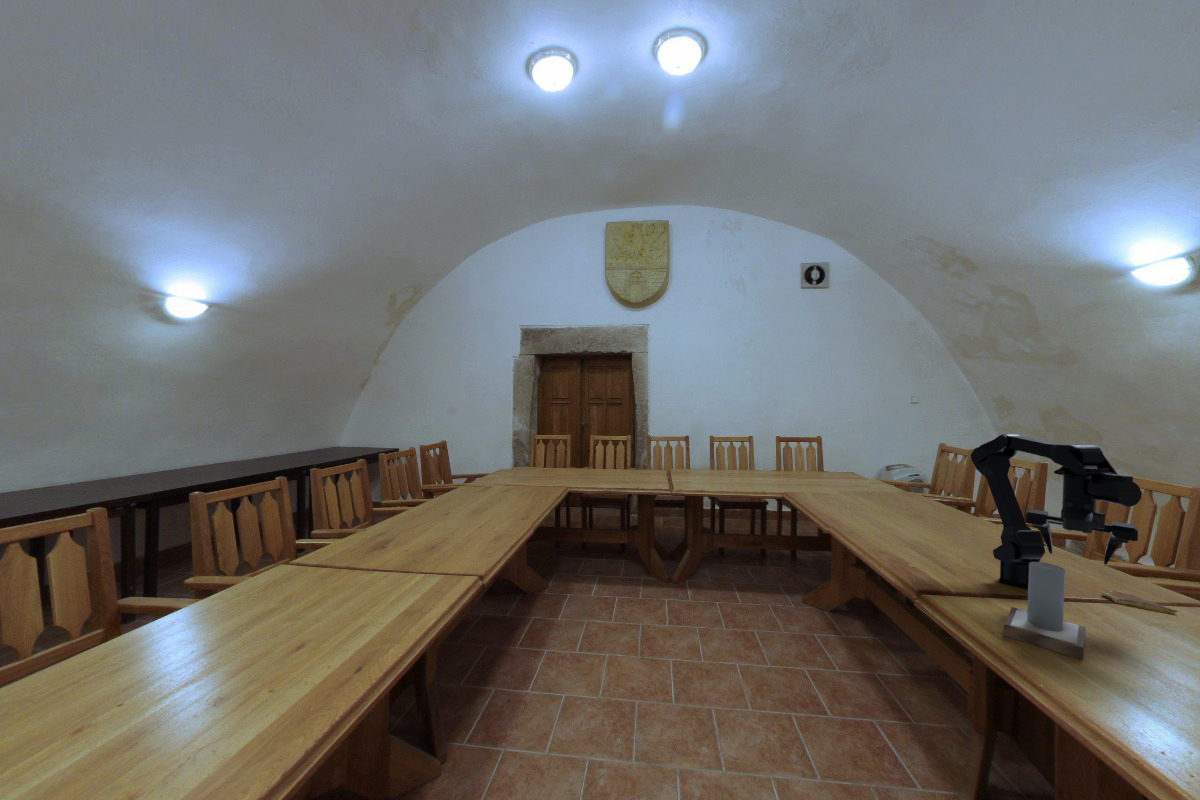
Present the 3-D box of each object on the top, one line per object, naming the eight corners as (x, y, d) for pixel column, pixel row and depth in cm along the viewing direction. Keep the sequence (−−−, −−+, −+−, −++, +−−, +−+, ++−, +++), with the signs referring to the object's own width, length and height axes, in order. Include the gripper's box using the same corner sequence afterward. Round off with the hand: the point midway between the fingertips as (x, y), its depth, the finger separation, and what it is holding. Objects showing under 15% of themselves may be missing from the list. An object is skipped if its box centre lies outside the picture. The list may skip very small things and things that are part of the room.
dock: (1003, 635, 100) (1004, 623, 100) (1011, 617, 108) (1011, 606, 108) (1083, 659, 91) (1083, 646, 91) (1085, 638, 99) (1085, 626, 99)
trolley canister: (1025, 624, 100) (1027, 566, 99) (1028, 615, 103) (1030, 559, 103) (1061, 634, 95) (1064, 574, 95) (1063, 625, 99) (1065, 567, 99)
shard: (1178, 617, 109) (1178, 609, 109) (1150, 618, 108) (1150, 611, 108) (1122, 596, 120) (1122, 589, 120) (1096, 597, 119) (1097, 590, 119)
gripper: (1023, 494, 112) (1021, 555, 113) (1140, 509, 98) (1137, 579, 99) (1028, 487, 119) (1026, 545, 120) (1137, 500, 106) (1135, 566, 106)
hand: (1077, 558), depth 111 cm, fingers open, 9 cm apart
